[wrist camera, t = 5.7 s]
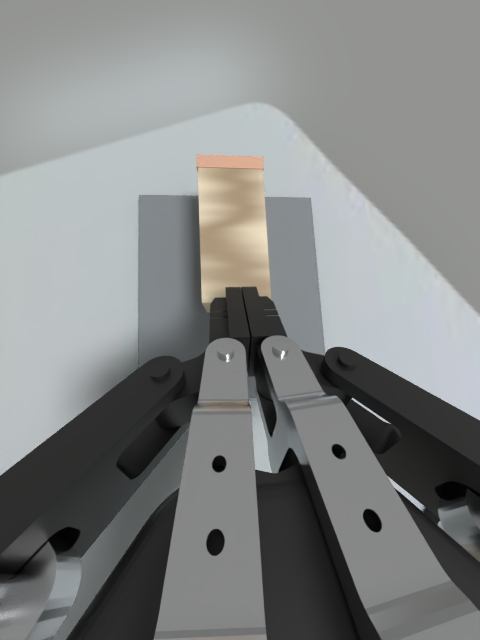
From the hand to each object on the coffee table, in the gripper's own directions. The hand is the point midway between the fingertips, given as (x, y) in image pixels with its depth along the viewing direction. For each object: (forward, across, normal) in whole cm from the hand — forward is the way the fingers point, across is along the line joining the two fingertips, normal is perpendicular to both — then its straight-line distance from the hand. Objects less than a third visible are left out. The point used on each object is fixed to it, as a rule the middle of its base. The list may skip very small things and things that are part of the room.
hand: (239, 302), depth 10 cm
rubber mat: (+6, 0, +3) cm, 6 cm away
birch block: (+3, 0, +2) cm, 3 cm away
